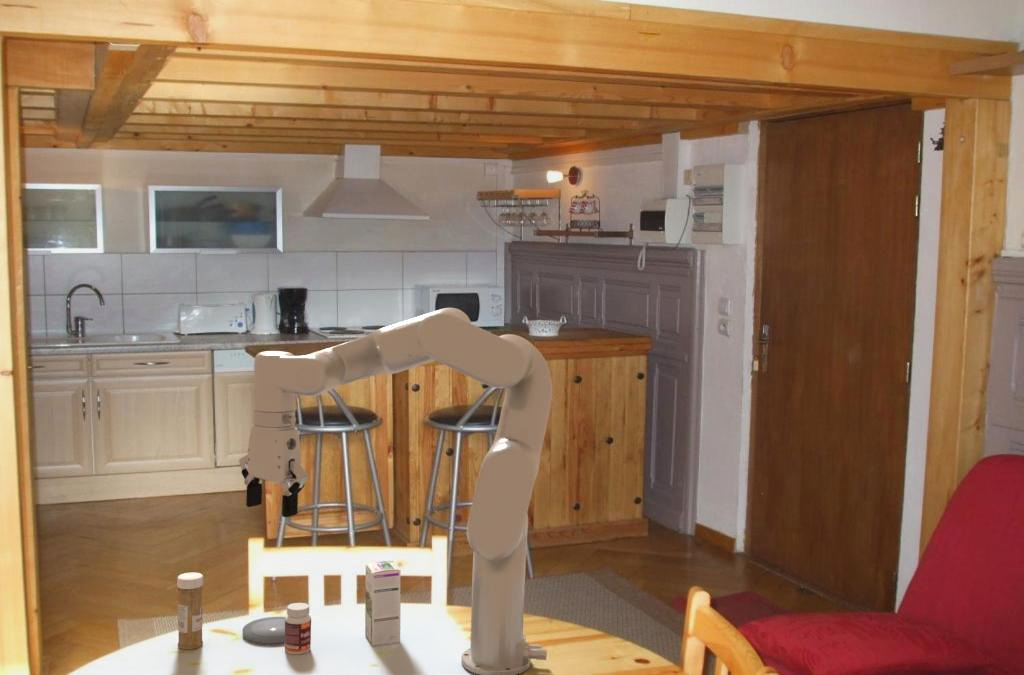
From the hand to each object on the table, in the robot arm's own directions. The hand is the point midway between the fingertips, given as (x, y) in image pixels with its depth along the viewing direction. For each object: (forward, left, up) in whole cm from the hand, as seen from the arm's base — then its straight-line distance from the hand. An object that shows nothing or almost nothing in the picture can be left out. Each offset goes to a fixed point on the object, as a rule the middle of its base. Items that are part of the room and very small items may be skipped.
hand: (271, 510), depth 190 cm
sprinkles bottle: (+14, +3, -26) cm, 30 cm away
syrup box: (-20, -7, -26) cm, 33 cm away
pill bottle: (-6, +1, -26) cm, 27 cm away
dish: (+1, -6, -26) cm, 27 cm away
